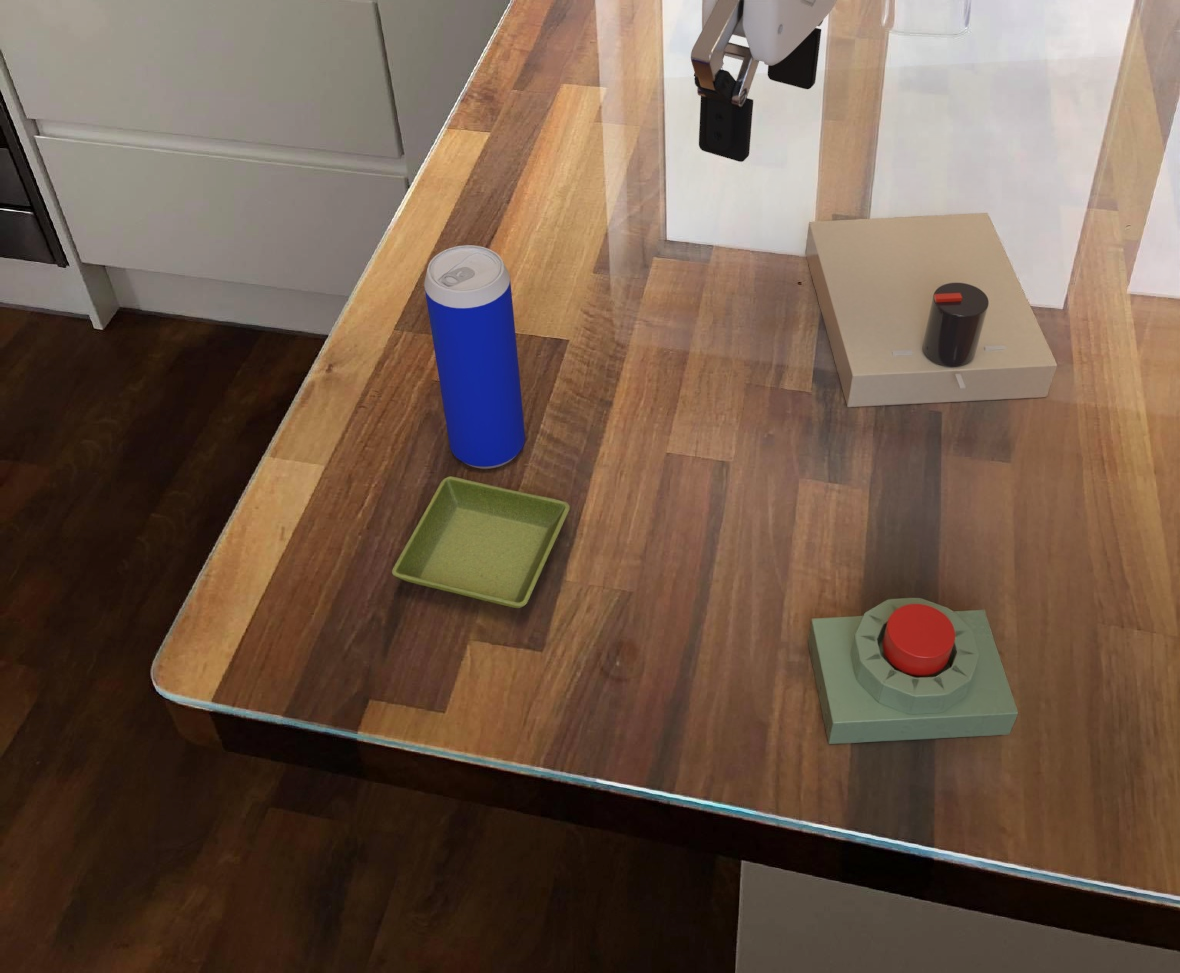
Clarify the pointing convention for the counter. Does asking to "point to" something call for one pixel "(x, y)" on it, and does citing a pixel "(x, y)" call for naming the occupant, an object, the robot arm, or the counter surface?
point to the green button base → (908, 681)
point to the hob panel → (922, 310)
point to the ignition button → (918, 639)
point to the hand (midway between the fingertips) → (758, 117)
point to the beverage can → (476, 354)
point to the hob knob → (954, 324)
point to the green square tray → (482, 542)
